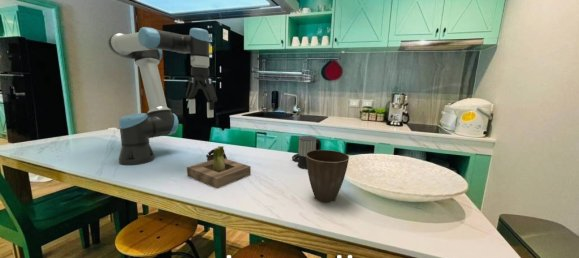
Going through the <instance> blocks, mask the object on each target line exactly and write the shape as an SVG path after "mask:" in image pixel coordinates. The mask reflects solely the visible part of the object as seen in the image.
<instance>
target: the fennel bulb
mask: <svg viewBox="0 0 579 258" xmlns="http://www.w3.org/2000/svg"><path fill="white" fill-rule="evenodd" d="M216 148H217V151H216V149H215V148H213V149H212V150H213V152H214V164H213V171H216V172H222V171H225V162H224V156H223V149H224V146H223V145H221V146H220V145H219V146H217V147H216Z"/></svg>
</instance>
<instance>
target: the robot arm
mask: <svg viewBox="0 0 579 258" xmlns="http://www.w3.org/2000/svg"><path fill="white" fill-rule="evenodd" d="M209 36H210V34H209V31H208V30H207V29H204V28H198V27H192V28H191V27H190V29H189V34H179V33H177V32H176V33H175V32H171V31H165V30H160V29H156V28H153V27H147V26H143V27H141V28H139V30H138V32H132V33H128V34H125V33H115V34H112V35H111V36H109V38H108V40H107V45H108V48H109V50H110V51H111V52H112V53H113V54H115V55H116V56H118V57H120V58H125V59H129V60H131V59H132V60H134V64H135V65H136V66H137V67H138V68H139V71H140V75H141V79H142V83H143V88H144V93H145V97H146V101H147V105H148V109H149V110H148V111H147V113H144V112H141V113H132V114H126V115H124V116H122V117H120V118H119V120H118V121H119V126H118V127H119V135H120V142H121V149H120V153H119V156H118V162H119V163H118V164H120V165H124V166H134V165H141V164H146V163H149V162H152V161H154V160H155V153H154V151H153V149H152V147H151V144H150V138H158V137H159V138H160V137H164V136H166V137H168V136H170V135H174V134H175V133H177V130H178V129H179V119H178V116H177V115H176V114H175V113H172V110H171V108H169V107H168V106H167V101H166V96H165V93H164V87H163V84H162V79H161V75H160V71H159V67H158V65H159V64H160V61H161V60H162V58H163V50H164V51H167V52H168V51H170V52H175V53H178V54H185V55H186V54H189V55H190V66H191V67H190V76H193V77H189V78H188V85H187V89H186V92H185V98H187V99H188V106H189V107H188V109H189V110H188V114H190V115H191V114H196V98H195V97H196V96H197V94H198V91H199V90H202V92H203V94H204V96H205V98H206V99H207V101H206V116H207V118H208V119H209V118H210V119H211V118H214V117H215V116H214V114H215V113H214V112H215V111H214V110H215V102H218V97H217V93H216V90H215V87H214V84H213V79H212V78H208V77H210V68H209V67H210V38H209Z"/></svg>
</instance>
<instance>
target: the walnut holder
mask: <svg viewBox="0 0 579 258" xmlns="http://www.w3.org/2000/svg"><path fill="white" fill-rule="evenodd" d="M224 162H225V171H222V172H216V171H213V164H214V160H210V161H207V160H206V161H204V162H200V163H197V164H193V165H190V166H186V174H187V175H186V176H187V177H188V178H191V179H194V180H196V181H198V182H200V183H203V184H206V185H208V186H210V187H213V188H214V189H220V188H222V187H225V186H226V185H229V184H232V183H235V182H236V181H239V180H241V179H243V178H246V177H249V176H251V169H252V167H251V165H248V164H244V163H241V162H238V161H234V160H231V159H228V158H227V159H225V158H224Z"/></svg>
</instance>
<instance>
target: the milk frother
mask: <svg viewBox="0 0 579 258" xmlns="http://www.w3.org/2000/svg"><path fill="white" fill-rule="evenodd" d="M314 150H322V141H321V140H320V139H319V138H317V136H312V135H300V136H298V153H296V154H294V155H292V157H291V159H292V161H293V162H297V167H298V168H299V169H304V170H305V169H306V170H307V163H306V153H307V152H310V151H314Z"/></svg>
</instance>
